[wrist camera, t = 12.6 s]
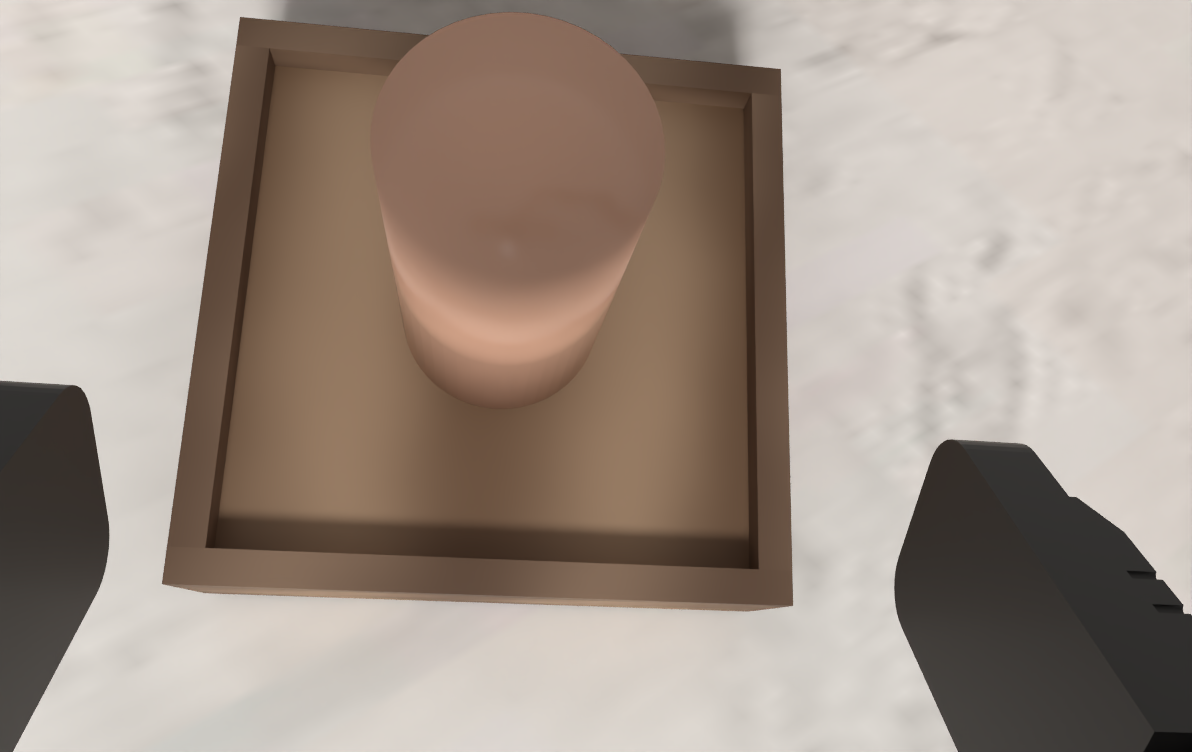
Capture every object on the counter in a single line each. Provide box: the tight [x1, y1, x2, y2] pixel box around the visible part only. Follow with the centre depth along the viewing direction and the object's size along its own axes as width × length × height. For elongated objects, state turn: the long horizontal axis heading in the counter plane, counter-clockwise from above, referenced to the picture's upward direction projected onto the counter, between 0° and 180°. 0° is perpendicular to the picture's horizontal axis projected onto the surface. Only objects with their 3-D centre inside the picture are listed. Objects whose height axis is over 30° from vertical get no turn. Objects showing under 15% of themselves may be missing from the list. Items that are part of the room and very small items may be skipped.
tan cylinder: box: [370, 12, 665, 409], centre depth 21 cm, size 5×5×9 cm
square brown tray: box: [162, 17, 793, 611], centre depth 26 cm, size 14×14×4 cm
